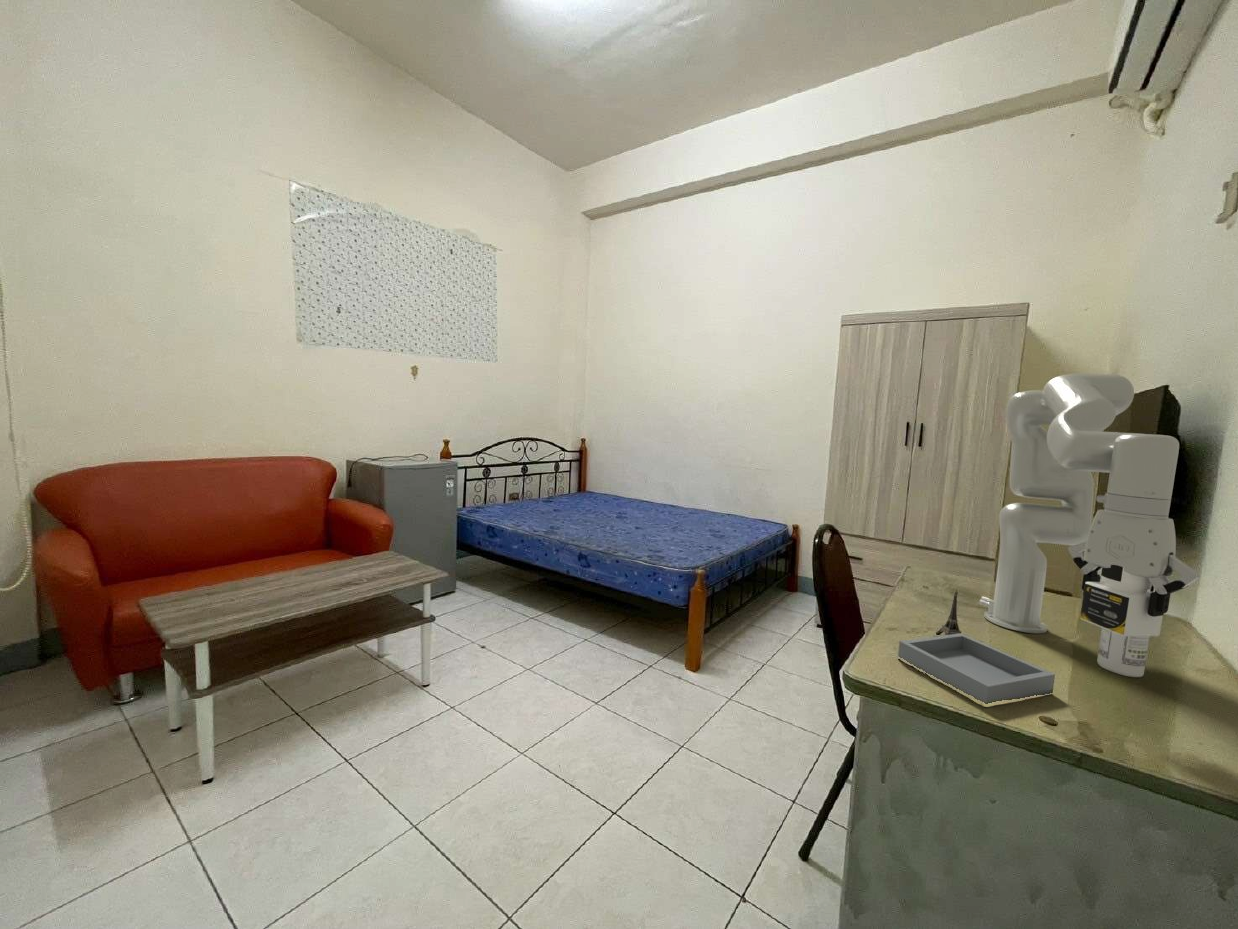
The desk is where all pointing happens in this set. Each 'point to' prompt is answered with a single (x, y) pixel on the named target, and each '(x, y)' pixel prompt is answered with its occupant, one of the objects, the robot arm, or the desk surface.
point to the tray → (976, 668)
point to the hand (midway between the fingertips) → (1121, 604)
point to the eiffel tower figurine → (951, 620)
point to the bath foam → (1123, 653)
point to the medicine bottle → (1120, 604)
